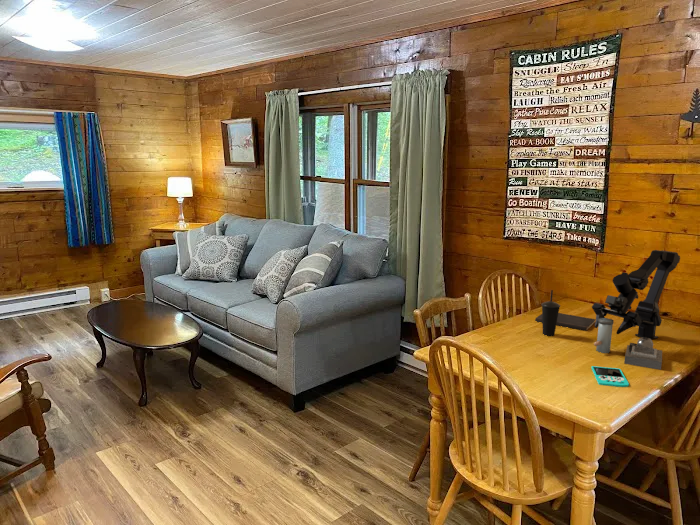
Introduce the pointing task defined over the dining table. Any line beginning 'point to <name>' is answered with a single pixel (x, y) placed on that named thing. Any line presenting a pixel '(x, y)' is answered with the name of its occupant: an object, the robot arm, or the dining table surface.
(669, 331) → the dining table surface
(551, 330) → the drinking cup
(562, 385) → the dining table surface
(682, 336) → the dining table surface
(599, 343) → the grey capped cylinder
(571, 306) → the dining table surface
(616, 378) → the handheld game console
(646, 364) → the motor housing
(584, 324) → the hardcover book
